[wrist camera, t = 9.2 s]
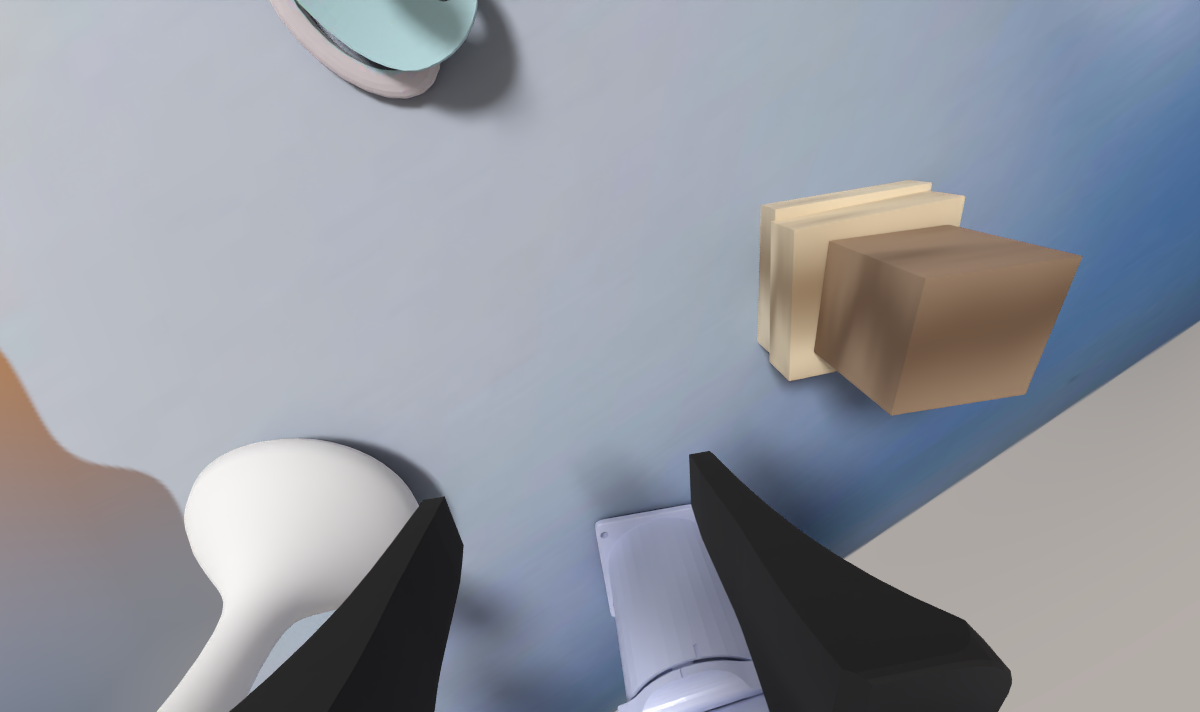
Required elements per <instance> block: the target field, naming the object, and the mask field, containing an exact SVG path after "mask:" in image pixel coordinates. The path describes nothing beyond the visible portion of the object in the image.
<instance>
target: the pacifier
mask: <svg viewBox="0 0 1200 712" xmlns="http://www.w3.org/2000/svg"><path fill="white" fill-rule="evenodd" d="M270 2H271V4H272V6H273V7H274V9H275V11H276V12H277V14H278V16H279V17H280V19H281V20H282V21H283V22H284V24H285V25H286V26H287V27H288V29H289V30H290V31H291V33H292V34H293V35H294V36H295V38H296V39H297V40H298V41H299V42H300V43H301V44H302V45H303V46H304V47H305V48H306V49H307V50H308V51H309V52H310V53H311V54H312V55H313V56H314V57H315V58H316V59H317V60H318V61H319V62H321V63H322V64H323V65H325V66H326V67H327V68H329V69H330V70H331V71H333V72H334V73H336V74H337V75H338V76H340V77H341V78H342V79H344V80H346V81H348V82H349V83H351V84H353V85H355V86H357V87H359V88H361V89H363V90H365V91H367V92H370V93H374V94H377V95H380V96H384V97H387V98H406V99H408V98H411V97H414V96H417V95H420V94H423V93H424V92H425V91H426V90H427V89H428V88H429V87H430V86H432V85H433V84H434V82H435V79H436V77H437V74H438V72H439V69H440V63H441V62H443V61H444V60H446V59H447V58H449V57H450V56H452V55H453V54H454V53H455V52H456V51H457V50H458V49H459V48H460V47H461V45H462V44H463V42H464V41H465V40H466V38H467V37H468V35H469V33H470V31H471V28H472V26H473V24H474V21H475V18H476V14H477V7H478V0H448V1H445V2H442V1H439V0H270ZM307 12H308V13H309V14H310V15H311V16H312V17H313V18H315V19H316V20H317V21H318V22H319V23H320V24H321V25H322V26H323V27H324V28H325V29H327V30H328V31H329V32H330V33H331V34H333V35H334V36H335V37H336V38H338V39H339V40H340V41H341V42H343V43H344V44H345V45H347V46H348V47H350V48H351V49H352V50H354V51H356V52H357V53H359V54H361V55H362V56H364V57H366V58H368V59H370V60H371V61H374V62H376V63H379V64H381V65H384V66H386V67H389V68H394V69H398V70H395V71H393V70H380V69H377V68H374V67H371V66H368V65H367V64H365V63H363V62H361V61H359V60H357V59H356V58H354V57H352V56H351V55H349V54H348V53H347V52H345V51H344V50H343V49H341V48H340V47H339V46H338V45H336V44H335V43H334V42H333V41H332V40H331V39H330V38H329V37H328V36H327V35H326V34H325V33H324V32H323V31H322V30H321V29H320V28H319V27H318V26H317V24H316V23H315V22H314V20H313V19H312V18H311V17H310V15H309V14H308V13H307Z"/></svg>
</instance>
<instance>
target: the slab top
mask: <svg viewBox="0 0 1200 712" xmlns="http://www.w3.org/2000/svg"><path fill="white" fill-rule="evenodd" d="M964 201H965V196H962V195H955V194H947V193H940V192H933V191H922V192H917V193H912V194H907V195H902V196H897V197H892V198H887V199H882V200H877V201H872V202H867V203H862V204H857V205H852V206H847V207H842V208H837V209H832V210H827V211H822V212H817V213H812V214H807V215H802V216H797V217H792V218H787V219H782V220H776V221H771V268H770V363H771V364H772V365H773V366H774V367H775V368H776V369H777V370H778V371H779V372H780V373H781V374H782V375H783V376H784V377H785V378H786V379H787V380H788V381H793V380H797V379H802V378H807V377H812V376H817V375H822V374H826V373H831V372H836V371H837V370H835V369H834V368H833V367H832V366H831V365H829V364H828V363H827V362H826V361H824V360H823V359H822V358H821V357H820V356H818V355H817V354H816V353H815V352H814V347H815V339H816V332H817V325H818V318H819V311H820V304H821V296H822V289H823V282H824V275H825V268H826V261H827V253H828V246H829V241H832V240H840V239H847V238H854V237H861V236H869V235H876V234H883V233H891V232H898V231H905V230H912V229H920V228H927V227H934V226H942V225H952V226H957V227H959V225H960V221H961V216H962V211H963V206H964Z"/></svg>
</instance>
